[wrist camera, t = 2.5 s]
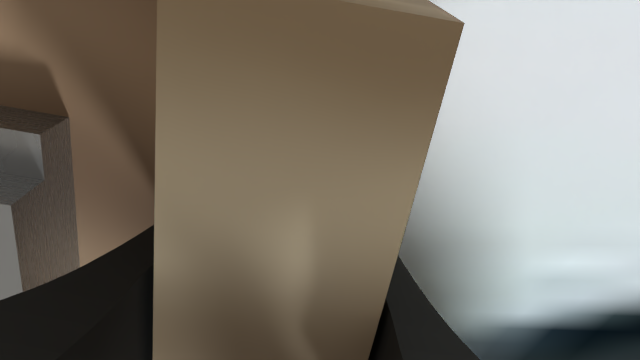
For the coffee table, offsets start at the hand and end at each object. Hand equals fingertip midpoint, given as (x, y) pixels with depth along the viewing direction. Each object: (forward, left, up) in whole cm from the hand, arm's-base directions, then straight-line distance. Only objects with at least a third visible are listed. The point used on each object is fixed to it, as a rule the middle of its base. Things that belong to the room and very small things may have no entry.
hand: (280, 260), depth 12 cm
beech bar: (0, 0, -1) cm, 1 cm away
